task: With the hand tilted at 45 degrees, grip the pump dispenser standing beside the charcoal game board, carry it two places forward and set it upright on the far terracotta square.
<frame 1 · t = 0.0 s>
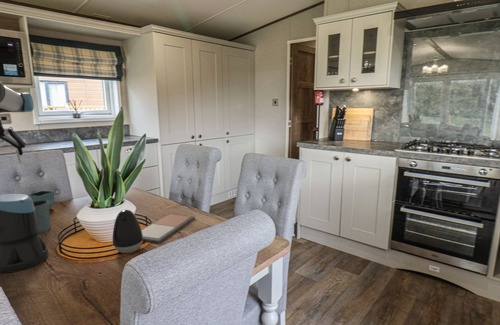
hand: (2, 162, 138), 28 cm above the table, tool tilted 20°, fingers open, 13 cm apart
board: (164, 227, 130), on the table
teal cup: (38, 230, 132), on the table
pump dispenser: (129, 250, 111), on the table
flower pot: (43, 210, 158), on the table
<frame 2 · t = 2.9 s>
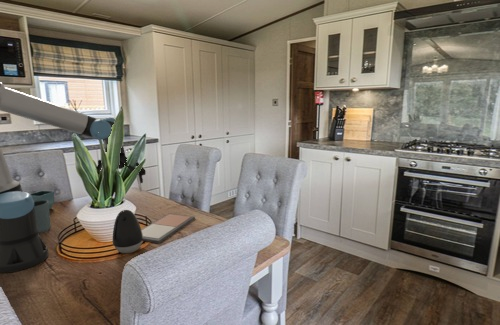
hand: (122, 193, 120), 18 cm above the table, tool tilted 45°, fingers open, 13 cm apart
nothing on the table moved.
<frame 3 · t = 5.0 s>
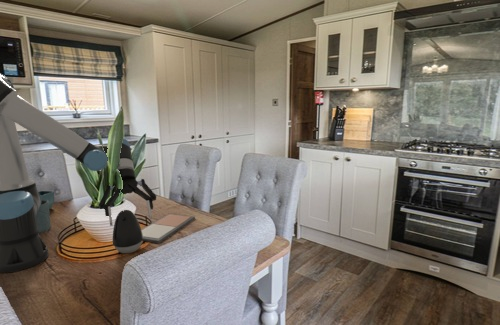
hand: (131, 220, 112), 10 cm above the table, tool tilted 45°, fingers open, 13 cm apart
nothing on the table moved.
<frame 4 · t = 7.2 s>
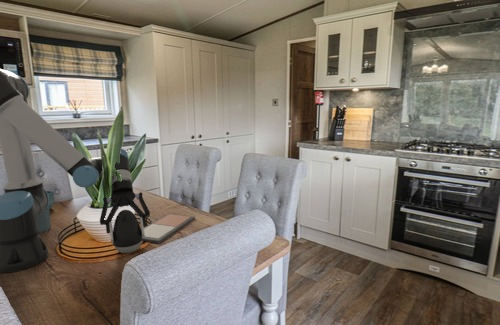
hand: (128, 238, 107), 6 cm above the table, tool tilted 45°, fingers closed on pump dispenser, 9 cm apart
pump dispenser: (129, 250, 111), on the table, touching gripper
everything else where it was.
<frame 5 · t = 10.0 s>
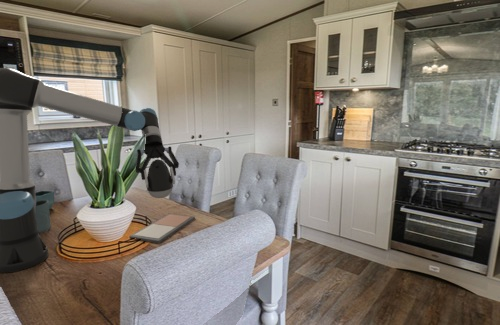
hand: (160, 184, 120), 21 cm above the table, tool tilted 45°, fingers closed on pump dispenser, 9 cm apart
pump dispenser: (161, 196, 124), point 15 cm above the table, touching gripper
everything else where it was.
when the fingers open (8 cm above the table, at t = 13.2 s): pump dispenser drops 1 cm, resting on board.
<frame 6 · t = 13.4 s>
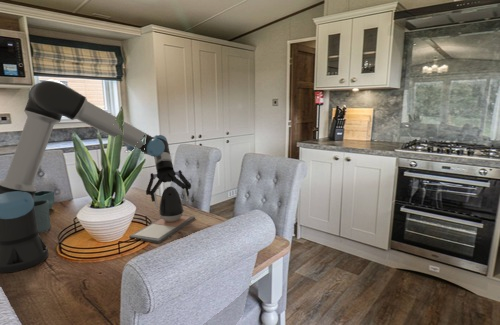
hand: (172, 205, 132), 9 cm above the table, tool tilted 45°, fingers open, 12 cm apart
pump dispenser: (171, 220, 135), point 1 cm above the table, touching board
everything else where it was.
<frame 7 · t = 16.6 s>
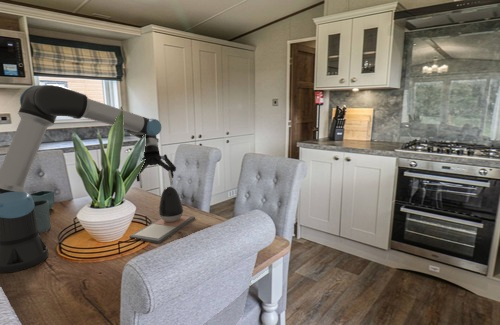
hand: (156, 185, 142), 15 cm above the table, tool tilted 45°, fingers open, 13 cm apart
nothing on the table moved.
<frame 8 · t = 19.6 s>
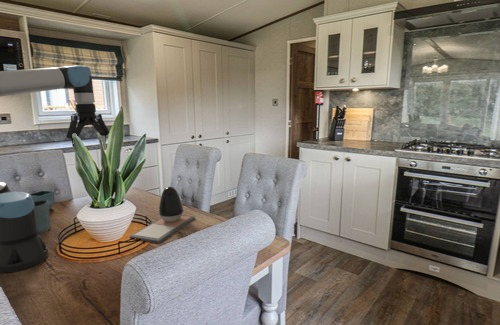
hand: (91, 152, 136), 32 cm above the table, tool pointing down, fingers open, 13 cm apart
nothing on the table moved.
at the end: pump dispenser inside the target area on the board (0.4 cm from its centre), point 1.0 cm above the board's base; pump dispenser tilted 0°; the gripper is holding nothing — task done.
